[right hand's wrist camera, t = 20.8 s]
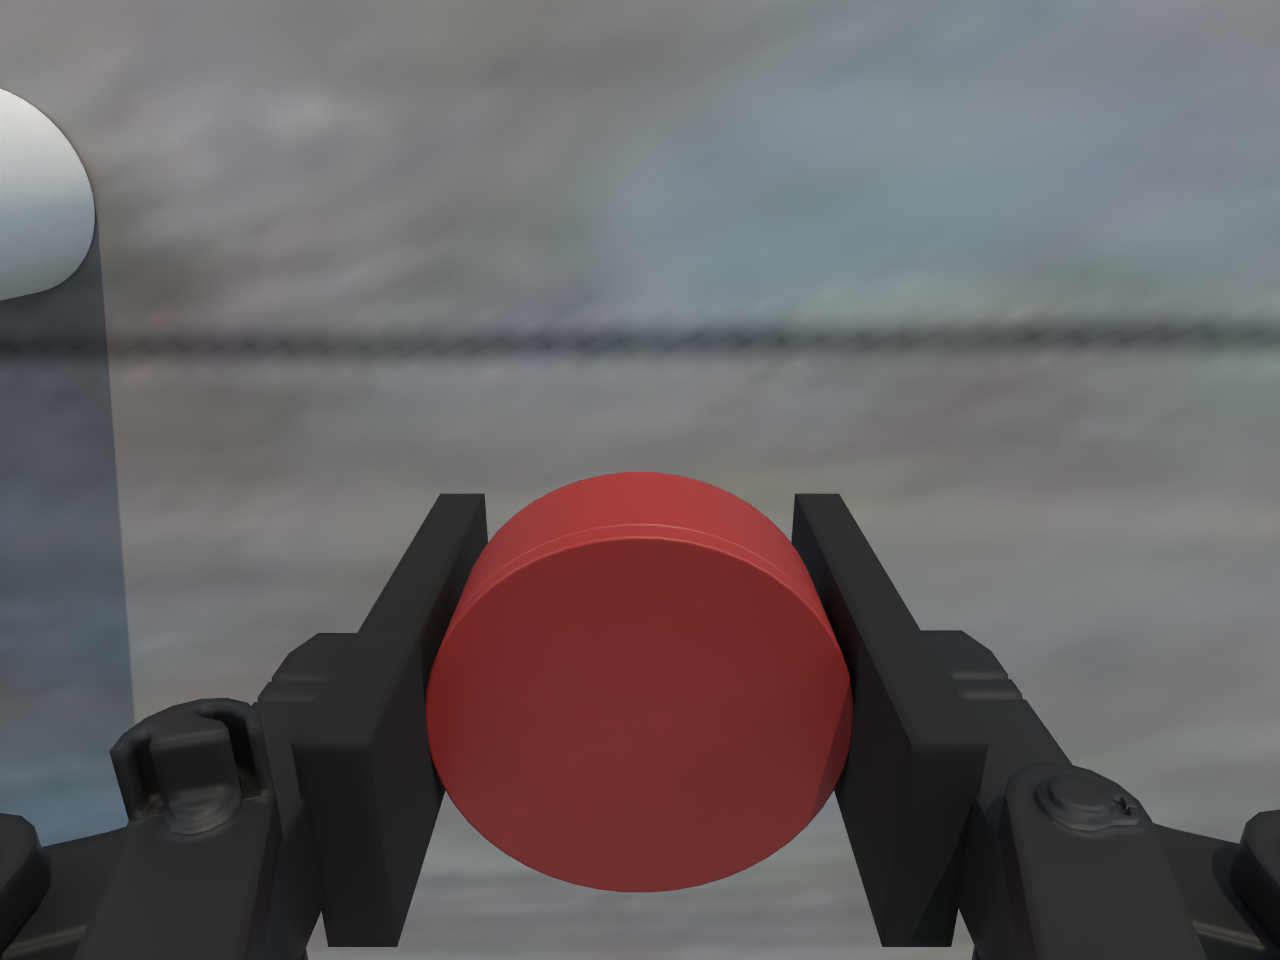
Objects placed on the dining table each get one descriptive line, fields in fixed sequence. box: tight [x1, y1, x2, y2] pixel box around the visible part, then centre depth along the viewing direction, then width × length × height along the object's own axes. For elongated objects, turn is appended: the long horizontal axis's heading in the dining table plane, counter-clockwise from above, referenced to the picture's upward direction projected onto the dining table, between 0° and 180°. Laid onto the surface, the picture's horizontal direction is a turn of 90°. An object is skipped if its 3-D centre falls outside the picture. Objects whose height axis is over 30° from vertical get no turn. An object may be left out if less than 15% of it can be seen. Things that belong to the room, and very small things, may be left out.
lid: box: [425, 472, 854, 892], centre depth 11 cm, size 5×5×2 cm
